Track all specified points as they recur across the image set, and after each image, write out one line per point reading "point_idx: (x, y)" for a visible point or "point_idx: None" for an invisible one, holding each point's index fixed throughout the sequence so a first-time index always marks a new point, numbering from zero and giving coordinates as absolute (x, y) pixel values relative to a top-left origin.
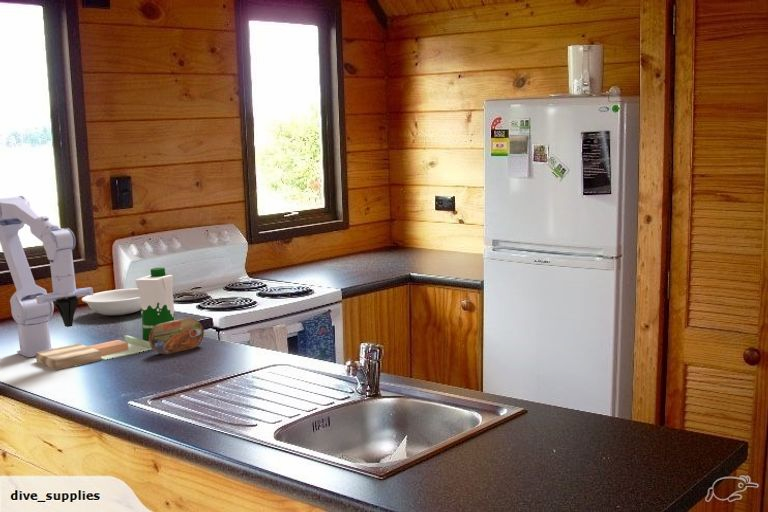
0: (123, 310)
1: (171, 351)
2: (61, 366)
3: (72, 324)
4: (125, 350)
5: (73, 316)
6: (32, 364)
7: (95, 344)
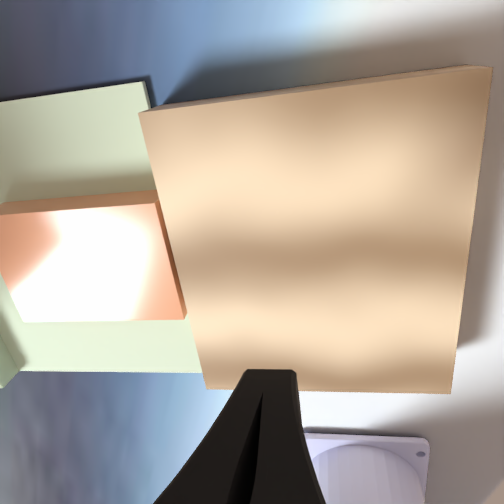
0: None
1: None
2: (433, 70)
3: (241, 377)
4: (19, 200)
5: (203, 440)
6: (478, 326)
7: (139, 319)
